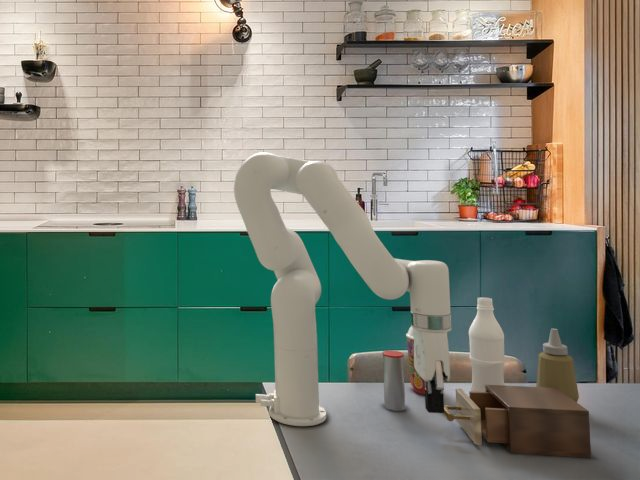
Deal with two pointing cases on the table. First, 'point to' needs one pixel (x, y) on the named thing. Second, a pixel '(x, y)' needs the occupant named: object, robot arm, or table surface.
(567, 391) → the squeeze bottle
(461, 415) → the drawer
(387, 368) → the spice tin
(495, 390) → the cabinet
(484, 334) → the water bottle
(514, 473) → the table surface
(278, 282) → the robot arm
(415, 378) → the smoothie
